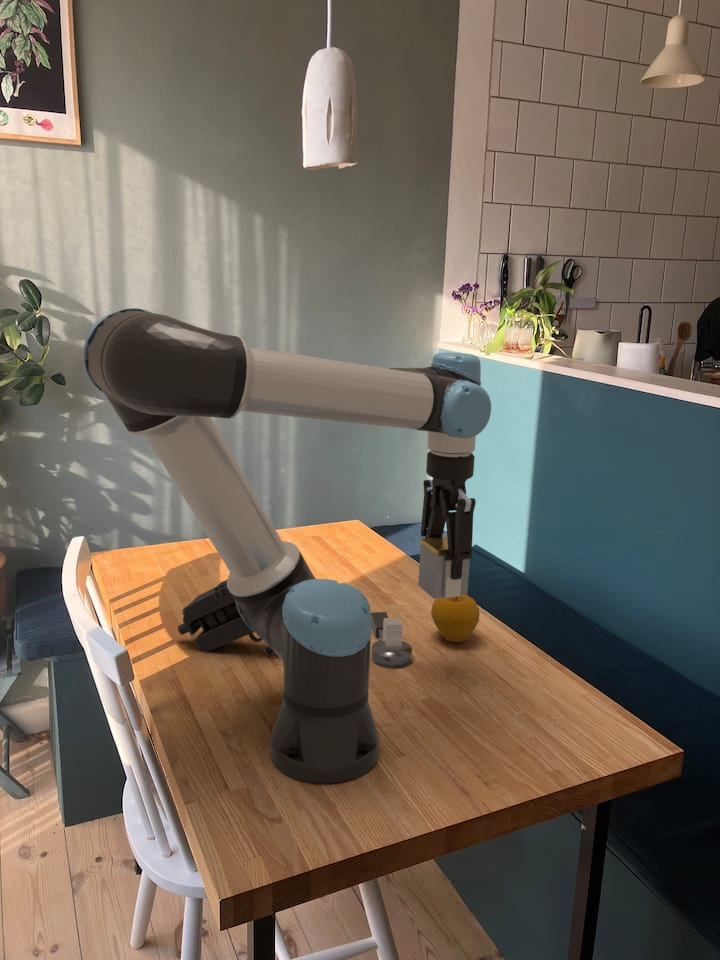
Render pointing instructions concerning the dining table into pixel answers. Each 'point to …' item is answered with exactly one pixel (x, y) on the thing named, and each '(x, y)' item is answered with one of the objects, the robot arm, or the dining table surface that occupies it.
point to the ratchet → (389, 642)
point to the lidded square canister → (437, 567)
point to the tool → (216, 620)
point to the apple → (455, 617)
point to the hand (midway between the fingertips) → (442, 588)
